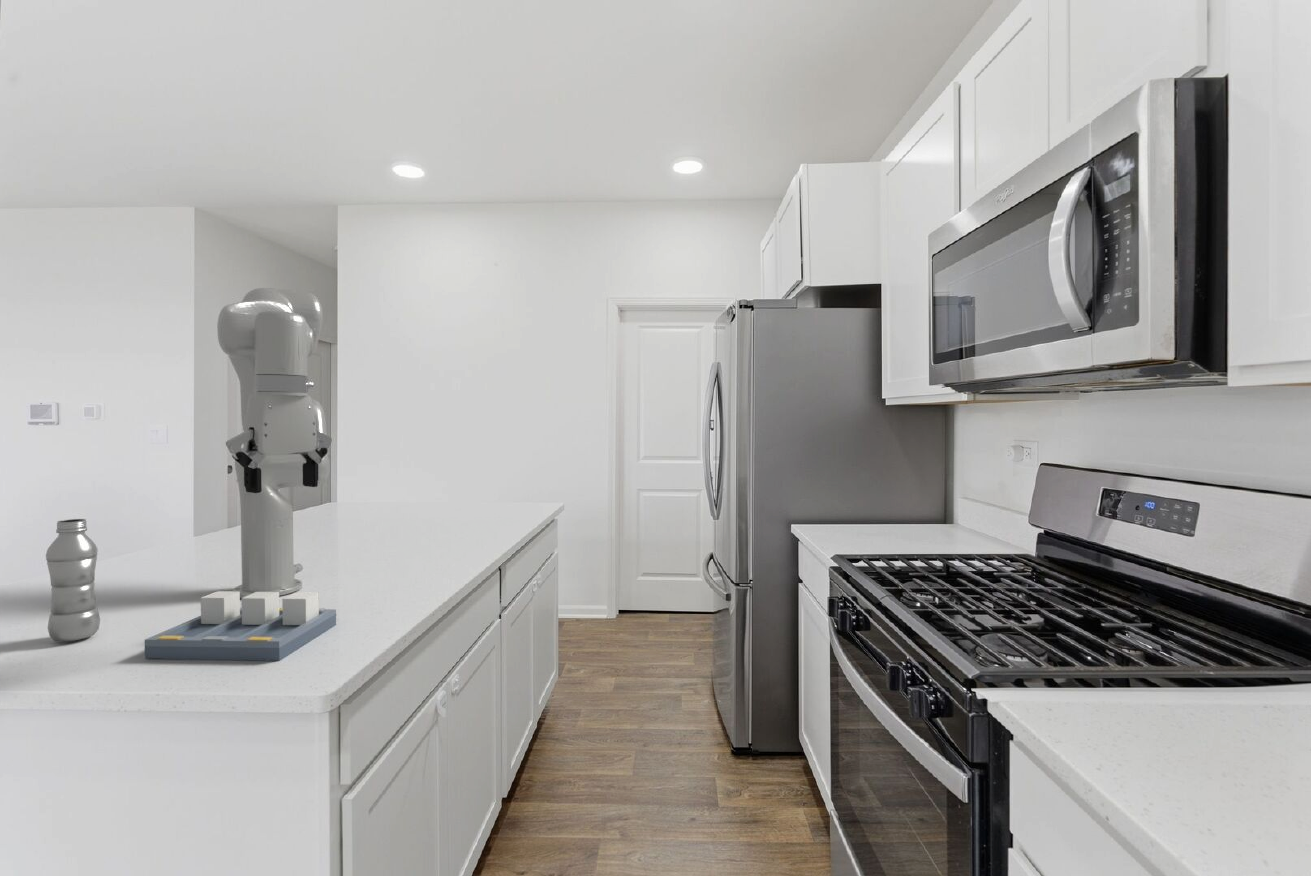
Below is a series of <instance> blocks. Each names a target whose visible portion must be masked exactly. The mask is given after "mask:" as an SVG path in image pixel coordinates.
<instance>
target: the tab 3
mask: <svg viewBox="0 0 1311 876" xmlns="http://www.w3.org/2000/svg"><path fill="white" fill-rule="evenodd" d="M281 601H282V606H281V608H283V625H302V624H304V623H306V622H307V621H309V620H311V619H313V618H314V617H316V616H318V615H319V608H320V604H319V603H320V602H319V592H314V591H313V592H311V591H309V592H306V591H305V592H304V591H303V592H301V591H299V592H297V591H295V592H292V593H290V595H289V594H288V596H286V597H282V600H281Z"/></svg>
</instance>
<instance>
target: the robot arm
mask: <svg viewBox="0 0 1311 876" xmlns="http://www.w3.org/2000/svg"><path fill="white" fill-rule="evenodd" d="M323 315H324V313H323V307H322V304H321V302H320V300H319V298H318V297H317V296H315V295H314V294H313V293H311V292H307V291H299V290H289V289H280V288H271V287H270V288H269V287H259V288H254V289H252V290H250V291H249V292H247V293H246V294H245V295H244V297H243V298H242V301H240V302H233V303H230V304H226V305H224V306H223V308H222V309H221V310H220V313H219V314H218V318H217V339H218V341H217V342H218V343H219V346H220V349H221V350H222V351H223V353H224V354H225V355H228V358H229V360H230V363H231V364H232V367H233V369H234V371H235V372H236V373H235V374H236V375H237V378H238V381H239V389H240V411H241V415H240V416H241V417H240V418H241V426H242V430H243V432H242V433H240V434H237V435H235V436H234V437H231V438H230V439H228V440H227V441H226V442H225V446H226V447H227V449H228V451H229V452H230V454H231V457H232V458H233V460H234V466H235V467H234V468H235V469H234V470H235V474H236V479H237V486H238V492H239V503H240V505H239V506H240V541H241V542H240V543H241V544H240V545H241V546H240V549H241V550H240V551H241V552H240V553H241V554H240V555H241V584H239V585H238V586H235V587H234V588H233V590H232V591H235V592H240V599H242V598H243V597H246V596H248V595H250V594H253V593H255V592H279V597H281V596H284V595H289V594H293V593H295V592H297V591H299V590H300V589H301V588H303V582H302V580H300V579H296V578H295V575H296V574H298V573H300V572H302V571H303V569H304V566H303V565H302V564H301V563H295V564H294V511H293V510H294V509H293V506H292V504H291V502H290V500H288V499H287V498H286V497H285V496H284V495H283V494H281V492H280V491H279V489H283V488H284V489H285V488H297V487H308V488H317V487H318V486H320V485H322V484H325V482H326V481H328V478H329V475H330V458H329V457H330V456H329V449H330V447H331V444H332V443H333V442H332V441H333V439H332V437H330V436H328V435H327V434H328V433H327V423H326V414H325V410H324V407H323V406H322V404H321V403H320V402H319V401H318V400H315V399H314V398H312V396H310V395H309V394H308V393H309V390H312V389H314V382H313V381H309V377H308V358H309V357H312V356H313V355H314V354H315V353H316V351H317V347H318V342H319V339H320V335H321V331H322V326H323ZM242 445H243V447H242Z"/></svg>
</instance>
